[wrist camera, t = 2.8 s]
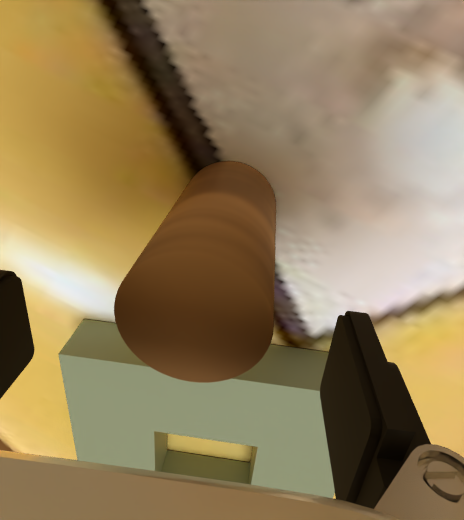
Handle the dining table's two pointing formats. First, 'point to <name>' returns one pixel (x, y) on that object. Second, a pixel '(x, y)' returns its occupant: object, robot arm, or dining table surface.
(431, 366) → the dining table surface
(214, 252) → the walnut peg
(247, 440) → the socket board
